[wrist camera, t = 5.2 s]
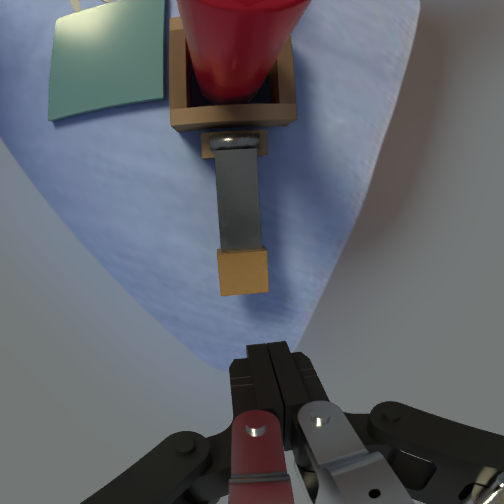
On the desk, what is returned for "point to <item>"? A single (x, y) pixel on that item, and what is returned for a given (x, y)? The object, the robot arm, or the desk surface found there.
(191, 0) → the bottle
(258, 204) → the lever
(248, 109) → the holder
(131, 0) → the coaster
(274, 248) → the desk surface
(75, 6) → the scissors
